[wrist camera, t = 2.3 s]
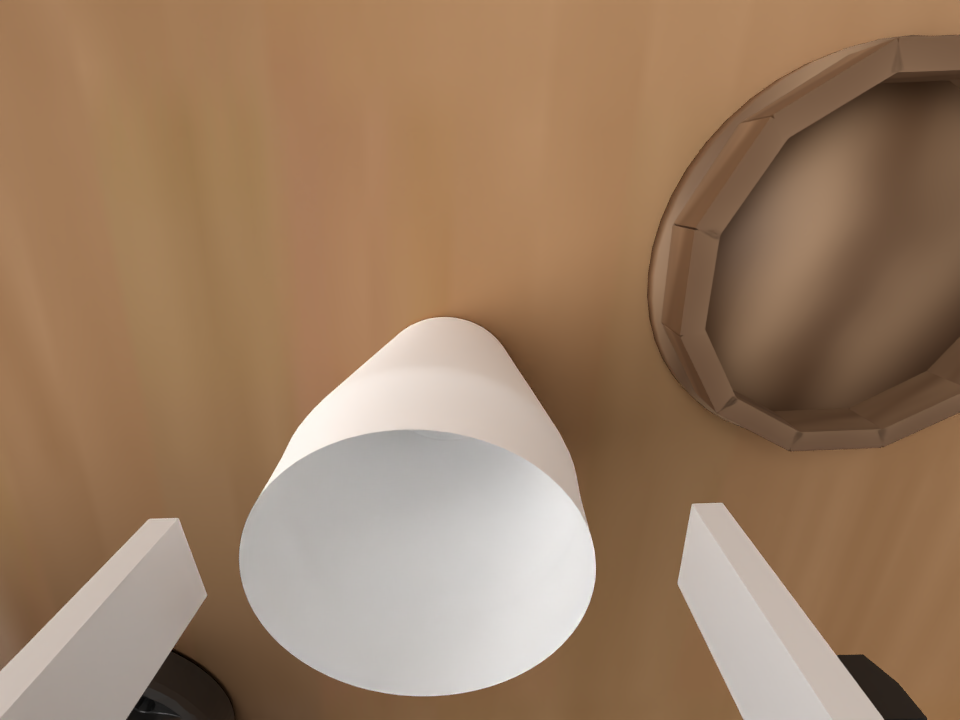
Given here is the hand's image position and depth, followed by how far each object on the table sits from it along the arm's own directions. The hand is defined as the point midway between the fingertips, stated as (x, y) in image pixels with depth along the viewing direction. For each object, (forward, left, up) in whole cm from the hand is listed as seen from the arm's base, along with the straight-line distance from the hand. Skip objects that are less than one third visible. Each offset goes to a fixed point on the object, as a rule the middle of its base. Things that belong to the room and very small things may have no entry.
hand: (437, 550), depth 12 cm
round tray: (+18, +5, -11) cm, 21 cm away
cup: (0, 0, -11) cm, 11 cm away
